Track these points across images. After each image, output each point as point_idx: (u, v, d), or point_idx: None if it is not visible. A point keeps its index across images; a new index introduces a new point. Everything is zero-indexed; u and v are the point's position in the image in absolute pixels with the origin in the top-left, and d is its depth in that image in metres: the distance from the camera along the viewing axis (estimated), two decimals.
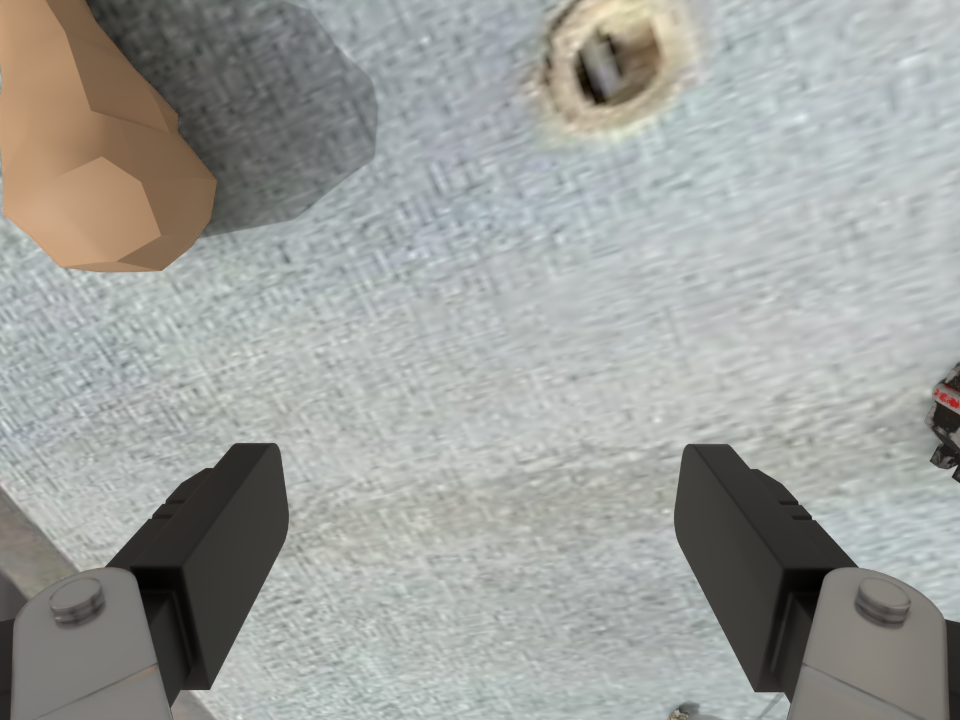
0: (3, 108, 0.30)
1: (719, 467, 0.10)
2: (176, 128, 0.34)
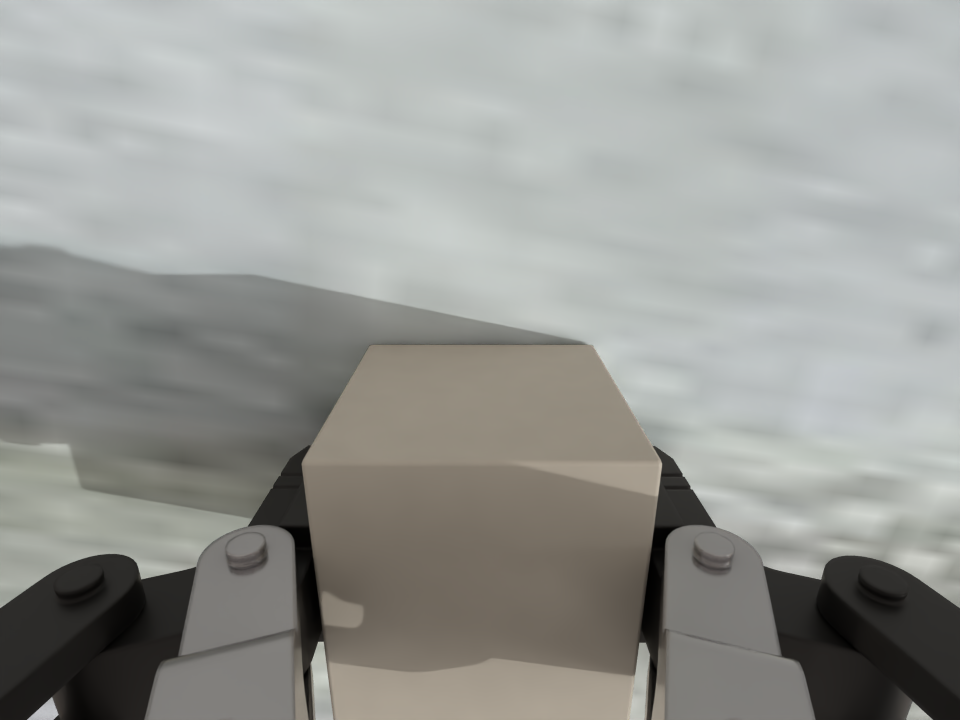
0: None
1: None
2: None
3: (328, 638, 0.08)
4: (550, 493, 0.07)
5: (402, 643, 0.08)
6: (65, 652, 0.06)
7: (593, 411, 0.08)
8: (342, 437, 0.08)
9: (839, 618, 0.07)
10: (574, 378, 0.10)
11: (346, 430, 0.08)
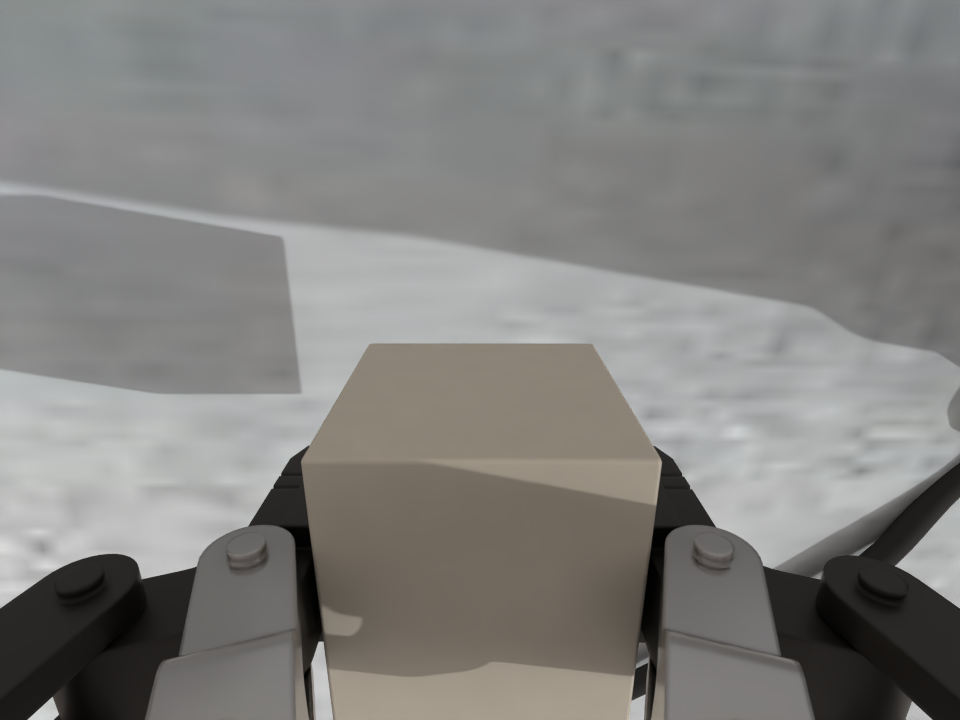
0: None
1: None
2: None
3: (328, 637, 0.08)
4: (550, 491, 0.07)
5: (402, 641, 0.08)
6: (66, 651, 0.06)
7: (593, 410, 0.08)
8: (342, 436, 0.08)
9: (838, 618, 0.07)
10: (574, 377, 0.10)
11: (346, 429, 0.08)
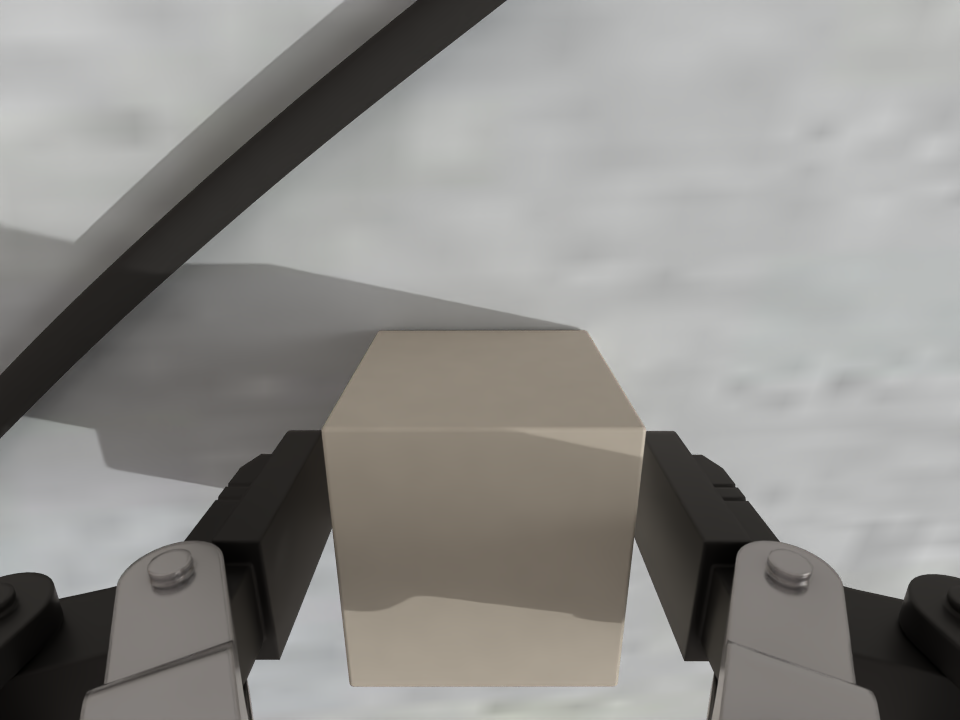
0: None
1: (662, 452, 0.10)
2: None
3: (344, 593, 0.09)
4: (545, 457, 0.08)
5: (412, 597, 0.09)
6: None
7: (585, 387, 0.09)
8: (358, 409, 0.08)
9: (921, 635, 0.06)
10: (568, 359, 0.11)
11: (360, 403, 0.09)
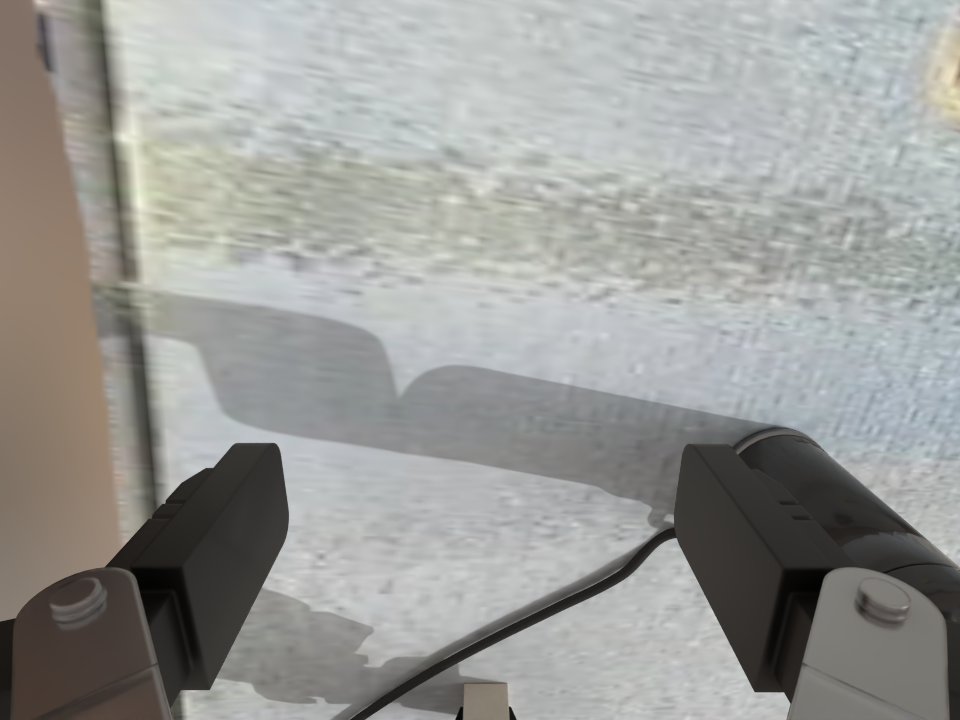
0: None
1: (719, 467, 0.10)
2: None
3: None
4: None
5: None
6: None
7: (502, 711, 0.56)
8: (467, 719, 0.56)
9: None
10: (501, 699, 0.58)
11: (467, 717, 0.56)
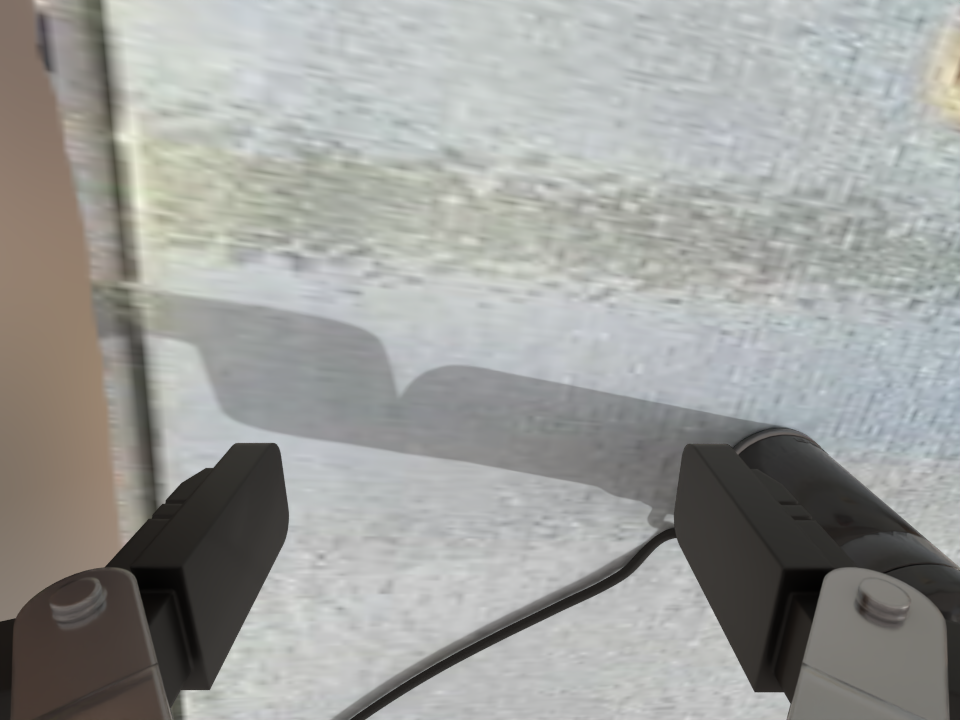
0: None
1: (719, 467, 0.10)
2: None
3: None
4: None
5: None
6: None
7: None
8: None
9: None
10: None
11: None
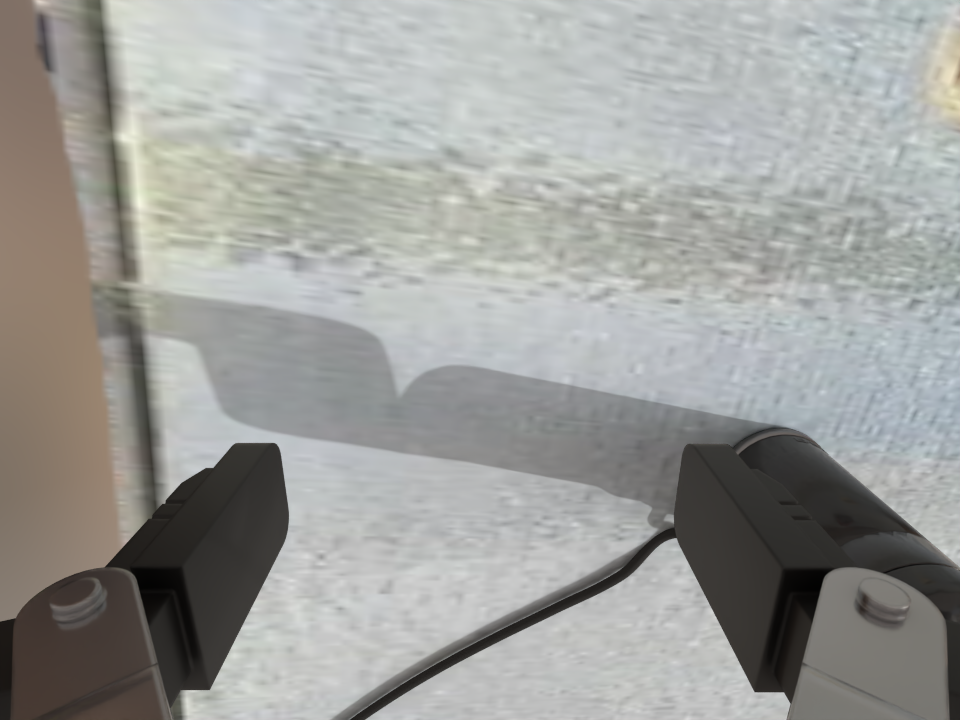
0: None
1: (719, 467, 0.10)
2: None
3: None
4: None
5: None
6: None
7: None
8: None
9: None
10: None
11: None
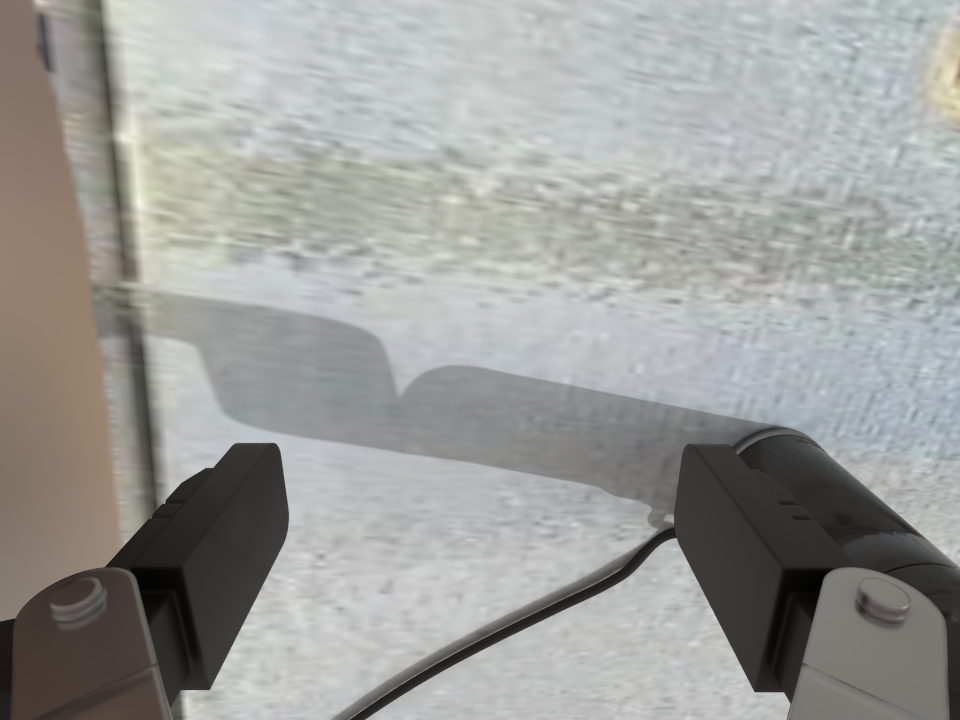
0: None
1: (719, 467, 0.10)
2: None
3: None
4: None
5: None
6: None
7: None
8: None
9: None
10: None
11: None
